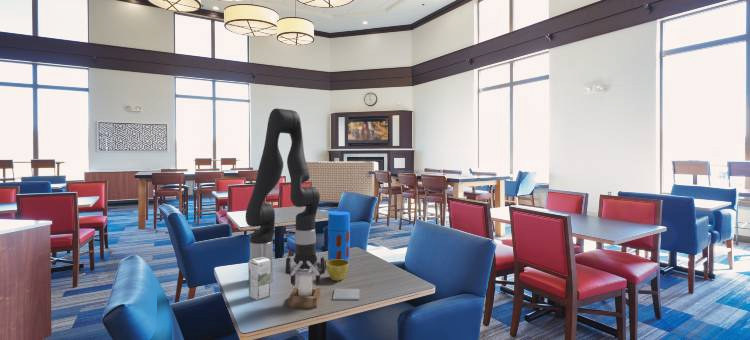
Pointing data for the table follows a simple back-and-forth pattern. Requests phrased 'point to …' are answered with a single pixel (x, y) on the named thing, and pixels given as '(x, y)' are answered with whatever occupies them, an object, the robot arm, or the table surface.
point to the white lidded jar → (305, 282)
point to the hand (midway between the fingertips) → (305, 284)
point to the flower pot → (337, 268)
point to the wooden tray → (304, 299)
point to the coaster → (346, 294)
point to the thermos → (339, 236)
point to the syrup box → (259, 278)
